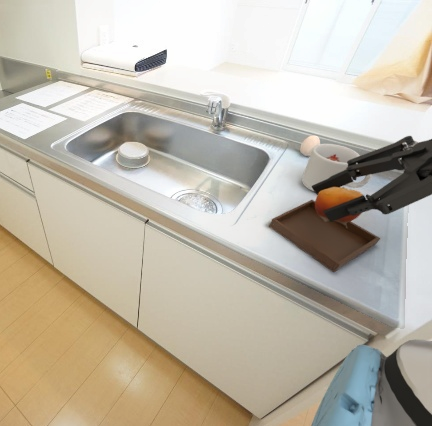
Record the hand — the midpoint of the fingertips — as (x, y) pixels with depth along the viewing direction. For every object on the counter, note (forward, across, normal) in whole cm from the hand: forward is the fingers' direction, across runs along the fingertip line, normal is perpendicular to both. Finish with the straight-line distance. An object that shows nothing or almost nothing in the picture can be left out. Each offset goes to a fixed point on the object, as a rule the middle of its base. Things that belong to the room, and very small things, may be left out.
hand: (320, 203), depth 57 cm
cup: (-1, +20, -13) cm, 24 cm away
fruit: (0, 0, -5) cm, 5 cm away
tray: (+4, 0, -9) cm, 10 cm away
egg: (0, +38, -13) cm, 40 cm away
